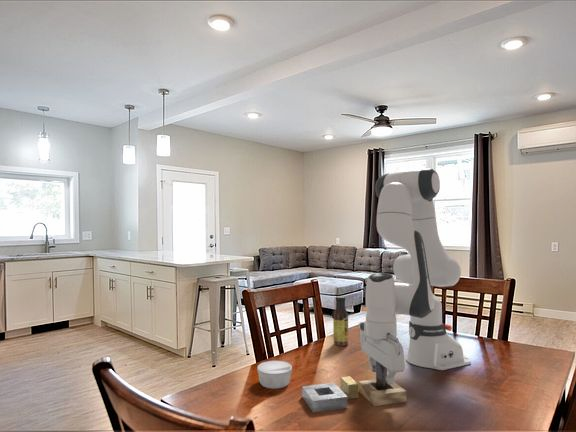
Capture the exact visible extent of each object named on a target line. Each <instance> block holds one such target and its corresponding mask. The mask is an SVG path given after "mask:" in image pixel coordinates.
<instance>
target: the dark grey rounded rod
mask: <svg viewBox="0 0 576 432" xmlns="http://www.w3.org/2000/svg"><path fill="white" fill-rule="evenodd" d="M387 375H388V372H387V368H386V367H384V366H383V365H381V364H380V363H378V362H377V361H376V372H375V379H376V389H377V390H386V389H387V382H386V376H387Z"/></svg>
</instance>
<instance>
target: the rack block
mask: <svg viewBox="0 0 576 432" xmlns="http://www.w3.org/2000/svg"><path fill="white" fill-rule="evenodd" d="M358 393H360V394H361V395H362V396H363V397H364V398H365V399H366V400H367V401H368V402H369V403H370V404H372V405H373V406H374V407H377V406H383V405H384V406H385V405H390V404H391V405H393V404H399V403H405V402H407V390H406V389H404V388H403V387H402V386H400V385H399V384H397V383H396V382H395V381H394V383H393V384H388V383H387V389H386V390H377V389H376V378H373V379H368V380H367V379H366V380H360V381H359V380H358Z"/></svg>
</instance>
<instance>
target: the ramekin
mask: <svg viewBox="0 0 576 432" xmlns="http://www.w3.org/2000/svg"><path fill="white" fill-rule="evenodd" d="M256 370H257V373H258V374H257V375H258V381H259V383H260V385H261V386H262V387H264V388H266V389H270V390H271V389H272V390H274V389H281V388H285V387H287V386H288V385H289V383H290V382H291V375H292V370H293V366H292V365H291V364H290V363H289V362H287V361H282V360H268V361H264V362H261V363H259V364H258V365H257V369H256Z"/></svg>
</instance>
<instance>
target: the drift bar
mask: <svg viewBox="0 0 576 432" xmlns="http://www.w3.org/2000/svg"><path fill="white" fill-rule="evenodd" d="M340 389H341V390H342V391H343V392H344V393H345V395H346V396H347V397H348V400H352V399H359V382H357V381H356V380H354V379H353V377H351V376H349V375H348V376H340Z"/></svg>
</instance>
